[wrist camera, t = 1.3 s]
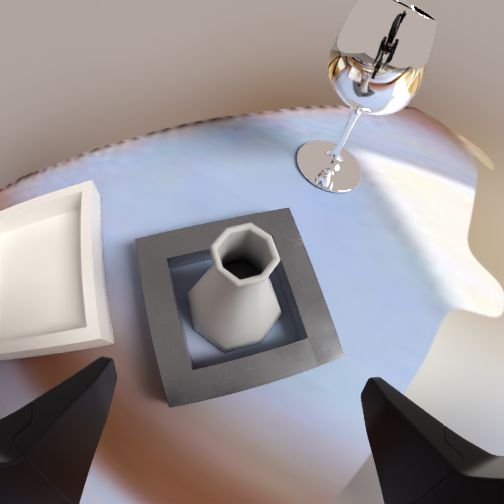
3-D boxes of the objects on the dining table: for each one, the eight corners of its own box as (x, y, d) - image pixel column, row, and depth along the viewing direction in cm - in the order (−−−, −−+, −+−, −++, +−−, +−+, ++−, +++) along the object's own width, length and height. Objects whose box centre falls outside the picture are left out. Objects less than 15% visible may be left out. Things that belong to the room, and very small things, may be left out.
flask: (170, 292, 23) (142, 232, 14) (244, 247, 25) (260, 170, 16) (222, 369, 20) (225, 362, 11) (296, 316, 23) (347, 271, 14)
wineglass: (372, 192, 29) (469, 42, 11) (308, 197, 28) (392, 4, 10) (346, 141, 32) (410, 0, 14) (286, 141, 31) (334, -26, 13)
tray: (115, 344, 20) (101, 338, 17) (-6, 361, 17) (-25, 356, 14) (101, 198, 25) (92, 180, 23) (-3, 232, 22) (-17, 218, 20)
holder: (334, 358, 22) (344, 356, 20) (173, 405, 19) (169, 407, 17) (284, 219, 26) (288, 207, 25) (140, 249, 24) (135, 238, 22)
